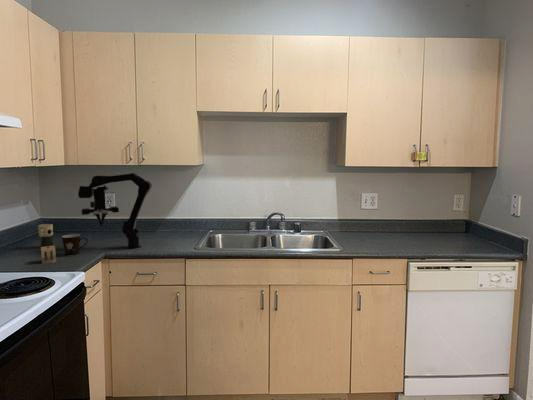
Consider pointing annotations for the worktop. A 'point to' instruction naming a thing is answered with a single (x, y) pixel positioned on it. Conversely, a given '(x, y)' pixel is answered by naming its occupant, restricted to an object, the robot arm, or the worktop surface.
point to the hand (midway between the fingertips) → (101, 225)
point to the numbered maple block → (48, 254)
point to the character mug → (46, 234)
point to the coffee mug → (72, 243)
